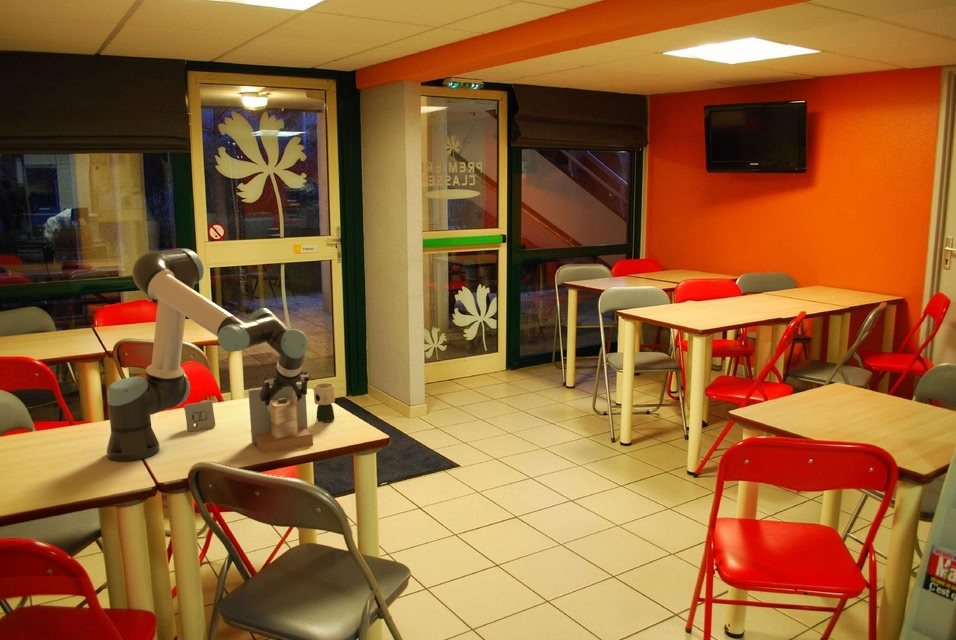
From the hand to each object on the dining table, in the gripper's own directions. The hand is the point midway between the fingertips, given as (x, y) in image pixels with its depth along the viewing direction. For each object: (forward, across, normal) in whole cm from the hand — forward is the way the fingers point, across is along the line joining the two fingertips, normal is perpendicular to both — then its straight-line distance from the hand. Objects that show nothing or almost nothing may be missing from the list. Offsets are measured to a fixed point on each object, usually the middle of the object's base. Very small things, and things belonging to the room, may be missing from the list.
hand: (280, 406), depth 253 cm
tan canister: (+4, 0, -8) cm, 9 cm away
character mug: (+18, +18, +2) cm, 26 cm away
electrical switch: (+27, -23, +12) cm, 37 cm away
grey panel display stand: (+6, 0, -11) cm, 12 cm away
